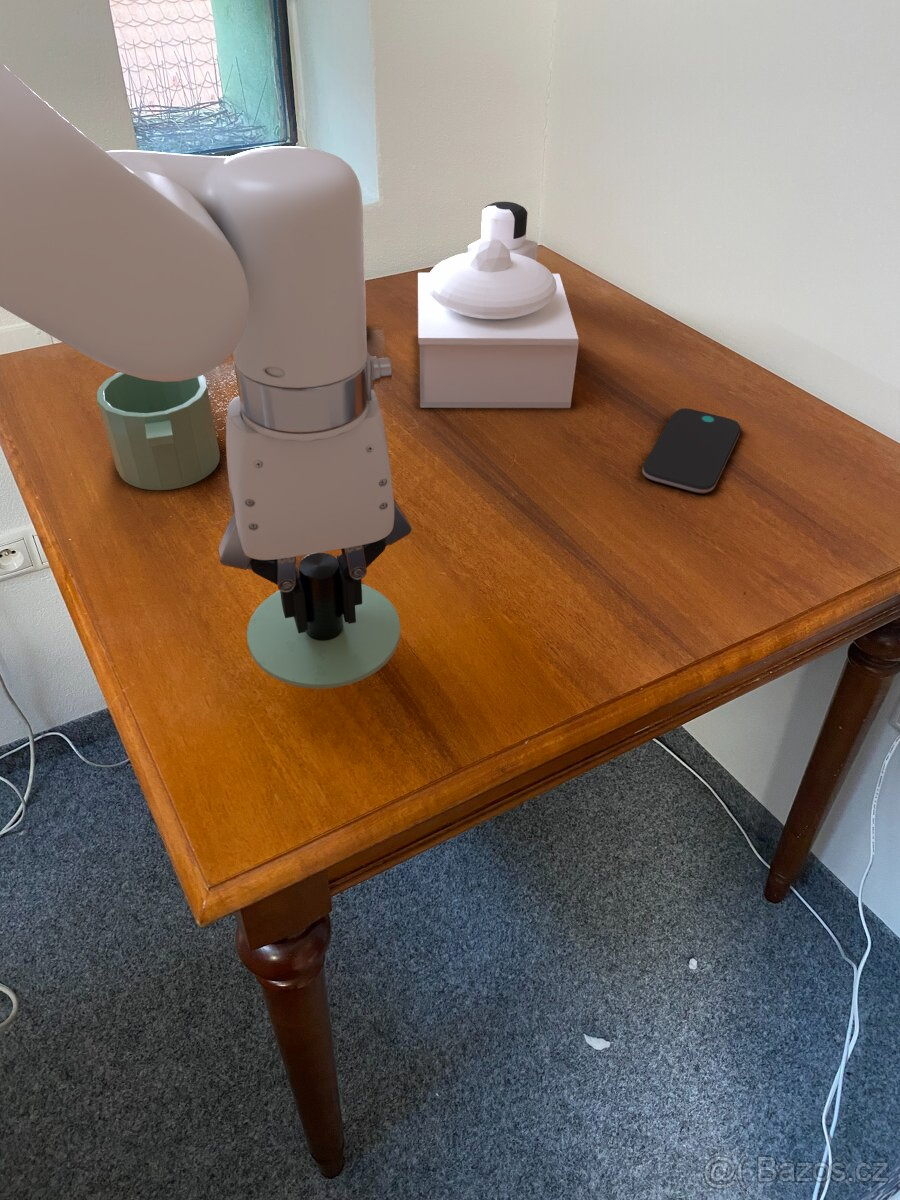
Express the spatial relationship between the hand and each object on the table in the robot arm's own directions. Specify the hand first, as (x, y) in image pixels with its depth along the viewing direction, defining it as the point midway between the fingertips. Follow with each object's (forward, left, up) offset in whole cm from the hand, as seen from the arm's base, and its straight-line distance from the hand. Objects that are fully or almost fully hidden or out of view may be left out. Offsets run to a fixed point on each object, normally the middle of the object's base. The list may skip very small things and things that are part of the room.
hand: (322, 613), depth 63 cm
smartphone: (+44, +22, -8) cm, 50 cm away
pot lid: (0, 0, -2) cm, 2 cm away
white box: (+29, +45, -8) cm, 55 cm away
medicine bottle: (+38, +66, -8) cm, 77 cm away
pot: (-10, +36, -8) cm, 38 cm away
